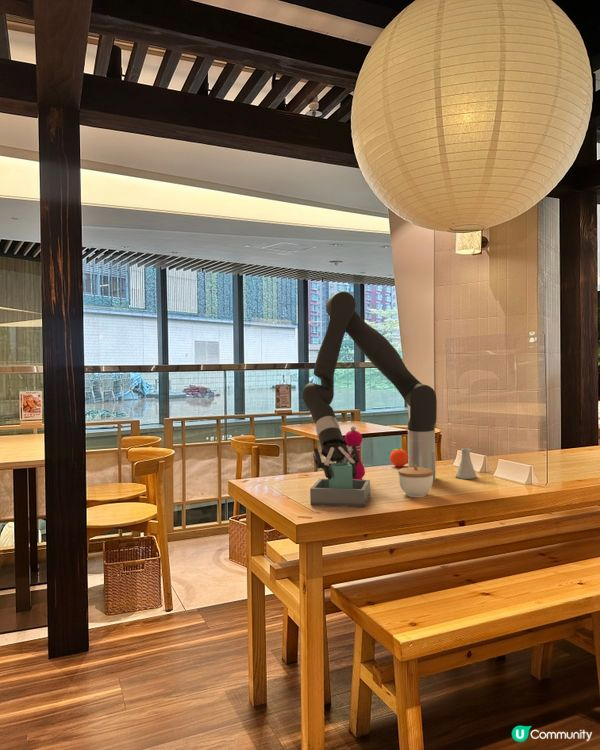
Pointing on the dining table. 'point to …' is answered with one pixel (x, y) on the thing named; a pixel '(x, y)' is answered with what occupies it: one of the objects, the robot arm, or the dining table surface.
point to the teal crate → (341, 476)
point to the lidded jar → (415, 480)
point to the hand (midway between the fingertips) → (342, 477)
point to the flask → (466, 466)
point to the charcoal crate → (340, 494)
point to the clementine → (398, 457)
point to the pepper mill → (354, 440)
